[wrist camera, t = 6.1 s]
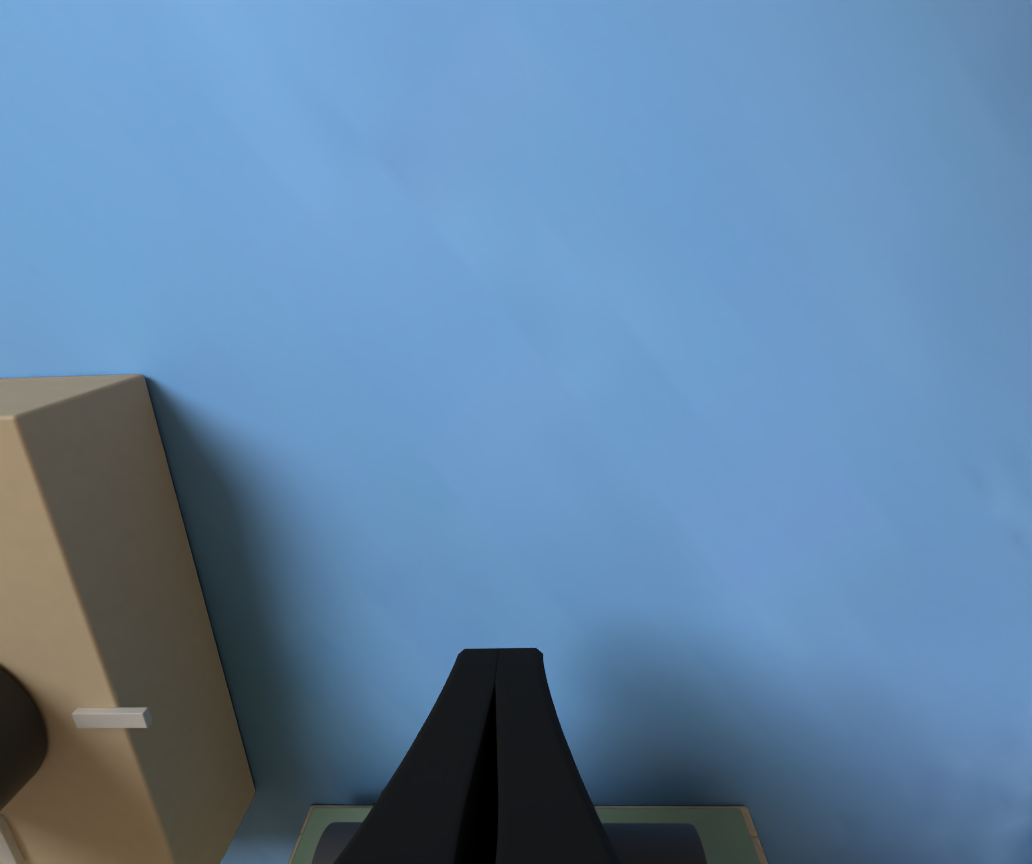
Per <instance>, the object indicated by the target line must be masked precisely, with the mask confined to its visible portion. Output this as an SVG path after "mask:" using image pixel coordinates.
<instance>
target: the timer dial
mask: <svg viewBox="0 0 1032 864" xmlns="http://www.w3.org/2000/svg"><path fill="white" fill-rule="evenodd" d="M46 749H47V735H46V729H45V726H44V723H43V720H42V717H41V715H40V713H39V711H38V709H37V707H36V705H35V704H34V702H33V701H32V699H31V698H30V696H29V695H28V694H27V693H26V692H25V690H24V689H23V688H22V687H21V686H20V685H19V684H18V683H17V682H16V681H15V680H14V679H13V678H12V677H11V676H10V675H9V674H7V673H6V672H5V671H4V670H2V669H1V668H0V811H1V810H2V809H3V808H4V807H5V806H6V805H7V804H8V803H9V801H10V800H11V799H12V798H13V797H14V796H15V795H16V794H17V793H18V792H19V791H20V790H21V789H22V788H23V787H24V786H25V785H26V783H27V782H28V781H29V780H30V779H31V778H32V777H33V776H34V775H35V774H36V773H37V771H38V770H39V768H40V767H41V765H42V762H43V760H44V758H45V754H46Z"/></svg>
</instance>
